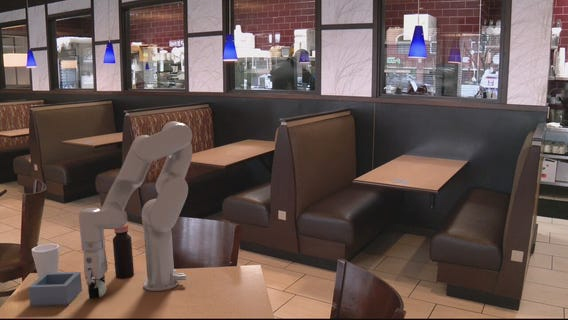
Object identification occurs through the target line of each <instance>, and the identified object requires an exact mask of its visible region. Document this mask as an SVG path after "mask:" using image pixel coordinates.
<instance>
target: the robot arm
mask: <svg viewBox="0 0 568 320" xmlns="http://www.w3.org/2000/svg"><path fill="white" fill-rule="evenodd" d="M192 139H193V132H192V129H191V128H190V127H189V126H188V125H187V124H185V123H182V122H178V121H168V122H167V123H165V124H164V125H163V127H162V130H161V131H159V132H157V133H154V134H151V135H147V134H142V135H138V136H137V137H135V138H134V140H133V141H132V144H131V146H130V149H129V150H128V152H127V155H126V157H125V160H124V161H123V164H122V166H121V168H120V170H119V173H118V175H117V177H116V178H115V180H114V182H113V183H112V185H111V187H110V189H109V191H108V192H107V195H106V198H105V199H104V202H103V204H102V208H101V209H100V208H99V207H87V208H84V209H81V210H80V211H79V212H78V223H79V233H80V234H79V235H80V244H81V245H80V246H81V251H82V252H83V270H84V279H85V280H86V281H85V283H86V285H87V291H88V290H89V293H88V297H89V300H98V299H99V298H100V297H99V289H98V287H97V280H101V281H103V282H104V283H105V284H106V281H105V280H106V279H105V277H106V276H105V274H106V273H107V272H108V269H109V268H108V267H109V266H108V260H107V259H108V258H107V254H106V241H105V239H106V238H105V230H114V229H119V228H121V227H123V226H124V225H125V224H127V222H128V215H127V212H126V211H125V208H126V206H127V204H128V201H129V200H130V198H131V195H132V194H133V192H134V191H135V190H137V189H138V188H139V187H141V185H142V184H143V183H144V181H145V179H146V176H147V173H148V171H149V169H150V167H151V165H152V162H156V161H158V160H161V159H163V158H166V159H165V161H164V164H163V167H162V168H161V171H160V173H159V176H158V177H157V180H156V182H155V190H156V192H157V196H156V198H153V199H150V200H148V201H147V202H145V203H144V204H143V207H142V210H141V220H142V221H141V222H142V226H143V227H142V228H143V235H144V250H145V264H146V277H147V278H146V280H144V281H143V284H142V285H143V286H142V287H143V289H144V290H147V291H151V292H161V291H168V290H171V289H174V288H176V287H177V286H178V285H179V283H180V281H186V280H187V274H185V273H184V272H180V273H178V272H177V269H175V266H174V265H175V264H174V250H173V236H172V235H173V234H172V229H173V227H174V226H175V224H176V223H177V220H178V219H179V216H180V214H181V212H182V209H183V207H184V205H185V202H186V200H187V197H188V194H189V185H188V182H187V181H186V176H187V173H188V171H189V168H190V166H191V162H192V158H193V147H192ZM93 281H95V284H94V283H93Z"/></svg>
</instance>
